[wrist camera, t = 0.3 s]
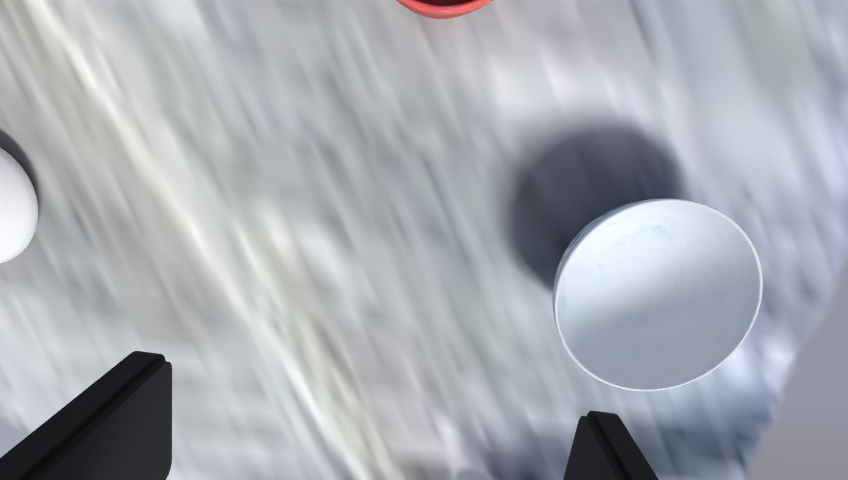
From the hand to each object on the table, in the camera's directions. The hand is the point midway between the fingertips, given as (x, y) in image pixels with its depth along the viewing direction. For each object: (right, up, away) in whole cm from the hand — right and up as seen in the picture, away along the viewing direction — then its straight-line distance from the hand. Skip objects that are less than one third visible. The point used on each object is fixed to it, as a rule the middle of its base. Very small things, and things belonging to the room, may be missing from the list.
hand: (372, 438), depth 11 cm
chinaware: (+18, +2, +31) cm, 36 cm away
